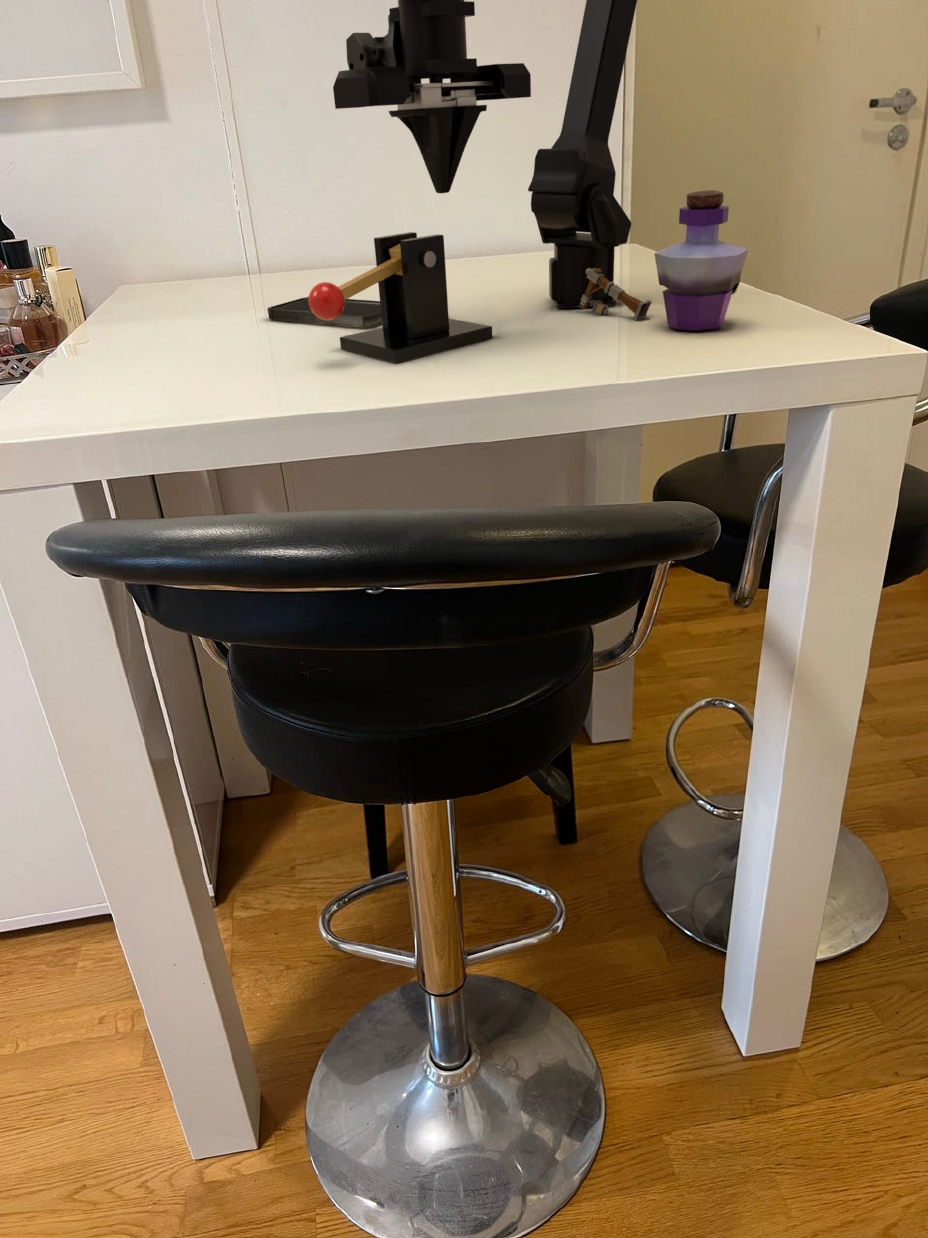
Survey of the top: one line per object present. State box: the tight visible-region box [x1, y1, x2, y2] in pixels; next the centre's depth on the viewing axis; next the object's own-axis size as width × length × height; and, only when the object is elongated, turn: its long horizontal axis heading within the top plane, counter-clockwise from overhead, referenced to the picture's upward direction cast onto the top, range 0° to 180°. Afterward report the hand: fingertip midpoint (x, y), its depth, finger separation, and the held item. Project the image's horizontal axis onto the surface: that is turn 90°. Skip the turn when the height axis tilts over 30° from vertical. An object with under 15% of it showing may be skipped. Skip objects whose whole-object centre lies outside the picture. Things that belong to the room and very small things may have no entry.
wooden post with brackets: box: [578, 268, 653, 321], centre depth 93 cm, size 2×8×4 cm, turn 48°
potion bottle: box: [654, 189, 749, 334], centre depth 84 cm, size 9×9×12 cm
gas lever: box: [308, 238, 412, 320], centre depth 81 cm, size 13×3×3 cm, turn 131°
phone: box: [266, 296, 382, 328], centre depth 100 cm, size 8×1×15 cm
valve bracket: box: [339, 231, 494, 364], centre depth 85 cm, size 12×9×10 cm
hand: (442, 192), depth 83 cm, fingers closed
